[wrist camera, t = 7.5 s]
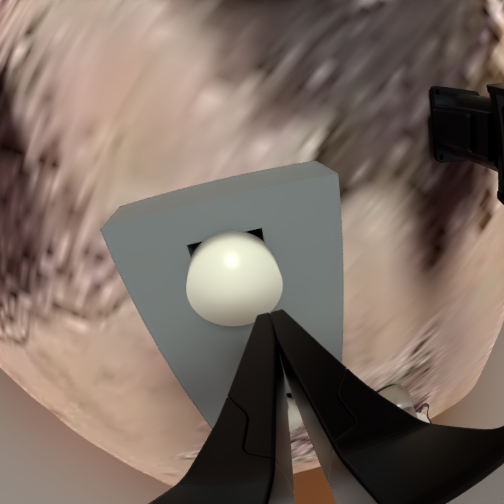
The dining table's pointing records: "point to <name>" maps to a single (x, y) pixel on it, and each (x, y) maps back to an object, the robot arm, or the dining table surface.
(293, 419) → the knob
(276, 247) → the mount
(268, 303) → the knob
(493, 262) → the dining table surface
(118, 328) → the dining table surface
